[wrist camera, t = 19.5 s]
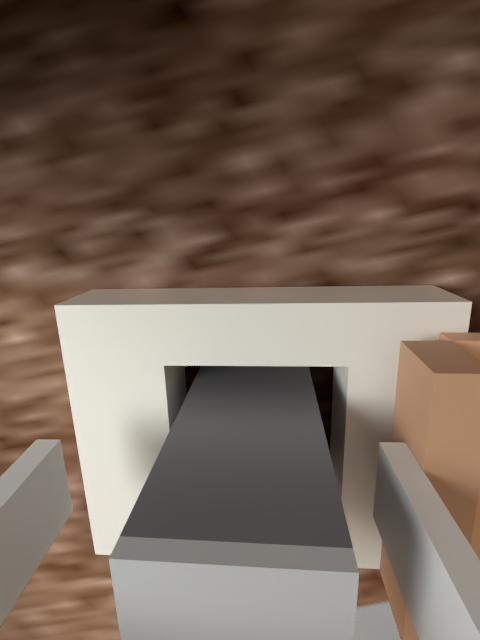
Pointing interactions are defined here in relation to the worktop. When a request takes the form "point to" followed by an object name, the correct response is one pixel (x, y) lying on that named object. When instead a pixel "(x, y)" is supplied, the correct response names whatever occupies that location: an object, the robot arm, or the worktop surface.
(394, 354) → the socket housing
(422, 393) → the shutter
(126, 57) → the worktop surface
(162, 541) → the plug
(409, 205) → the worktop surface
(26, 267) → the worktop surface
